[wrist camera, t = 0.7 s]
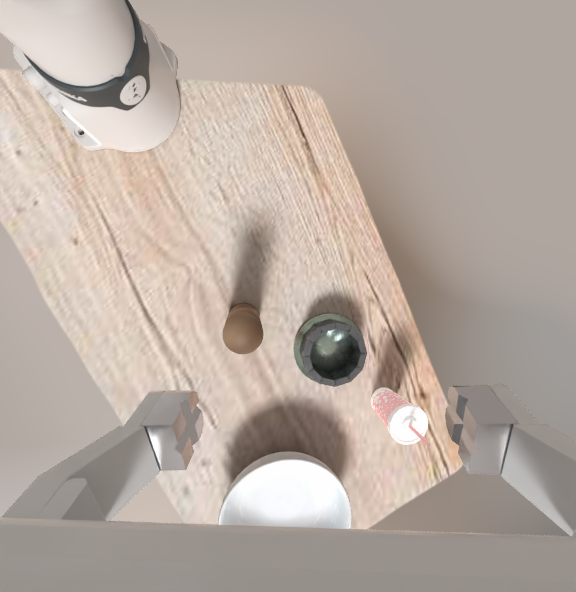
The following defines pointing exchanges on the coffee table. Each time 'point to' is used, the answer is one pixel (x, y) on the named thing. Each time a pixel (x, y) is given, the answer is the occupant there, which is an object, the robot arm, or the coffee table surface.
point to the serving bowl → (287, 494)
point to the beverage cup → (400, 416)
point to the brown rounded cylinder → (243, 329)
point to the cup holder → (330, 349)
